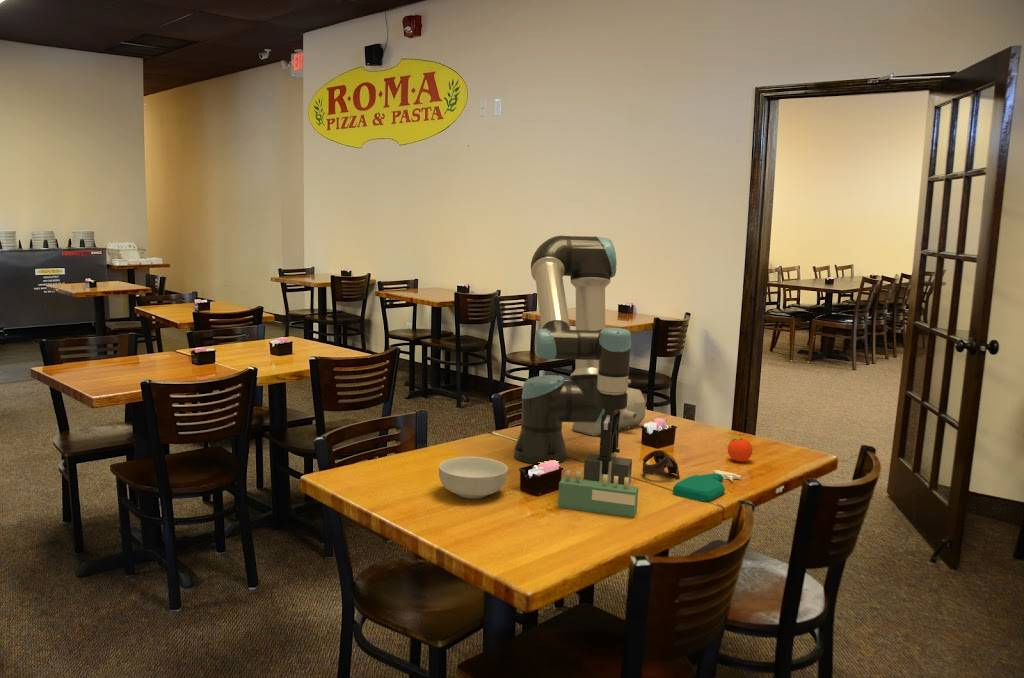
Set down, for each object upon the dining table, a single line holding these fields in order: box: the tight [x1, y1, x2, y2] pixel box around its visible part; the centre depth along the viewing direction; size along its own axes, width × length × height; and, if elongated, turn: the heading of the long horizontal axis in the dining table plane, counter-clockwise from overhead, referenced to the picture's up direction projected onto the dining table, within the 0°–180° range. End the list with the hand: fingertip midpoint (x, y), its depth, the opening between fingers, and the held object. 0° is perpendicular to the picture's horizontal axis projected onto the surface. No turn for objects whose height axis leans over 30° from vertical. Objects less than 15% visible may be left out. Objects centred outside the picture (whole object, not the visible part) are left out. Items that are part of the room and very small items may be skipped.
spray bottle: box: [672, 469, 742, 503], centre depth 209 cm, size 3×11×24 cm
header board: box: [557, 469, 639, 519], centre depth 189 cm, size 18×5×8 cm, turn 73°
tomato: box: [724, 437, 753, 463], centre depth 233 cm, size 8×7×7 cm
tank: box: [571, 387, 647, 437], centre depth 264 cm, size 25×16×12 cm, turn 135°
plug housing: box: [582, 453, 633, 486], centre depth 200 cm, size 11×6×6 cm, turn 73°
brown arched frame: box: [641, 449, 681, 480], centre depth 217 cm, size 12×10×8 cm
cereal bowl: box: [438, 456, 509, 500], centre depth 197 cm, size 17×17×7 cm
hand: (607, 481), depth 201 cm, fingers closed on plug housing, 6 cm apart
